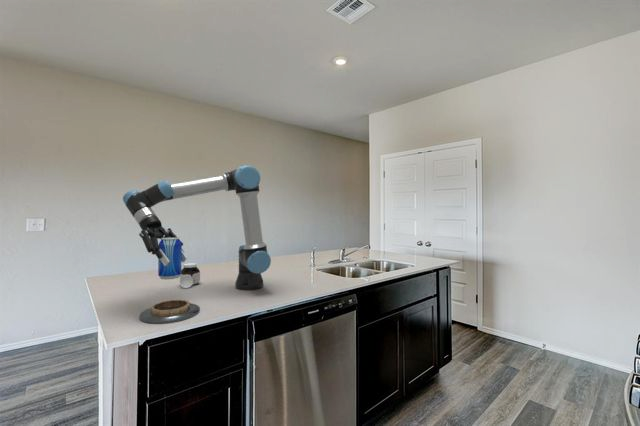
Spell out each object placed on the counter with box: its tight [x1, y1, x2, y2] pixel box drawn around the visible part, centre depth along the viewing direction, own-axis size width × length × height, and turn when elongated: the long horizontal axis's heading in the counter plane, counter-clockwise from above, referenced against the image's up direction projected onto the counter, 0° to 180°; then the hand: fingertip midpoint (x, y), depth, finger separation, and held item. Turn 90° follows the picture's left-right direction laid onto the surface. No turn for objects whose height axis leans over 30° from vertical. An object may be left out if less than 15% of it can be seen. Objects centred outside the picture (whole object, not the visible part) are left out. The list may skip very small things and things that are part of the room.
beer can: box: [157, 237, 183, 280], centre depth 123 cm, size 8×8×16 cm
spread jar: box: [179, 262, 201, 289], centre depth 167 cm, size 12×11×12 cm
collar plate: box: [138, 299, 201, 325], centre depth 123 cm, size 22×22×4 cm
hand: (176, 261), depth 121 cm, fingers closed on beer can, 8 cm apart
